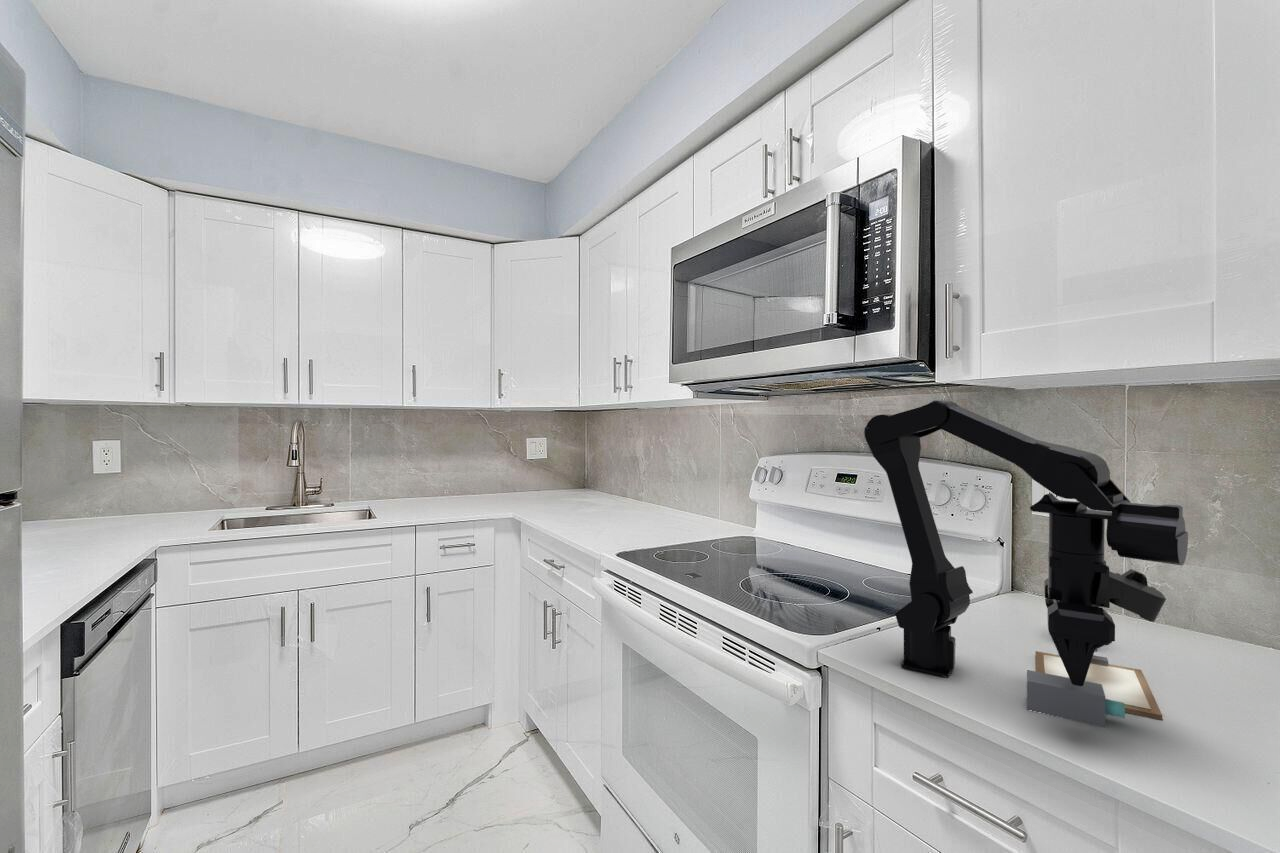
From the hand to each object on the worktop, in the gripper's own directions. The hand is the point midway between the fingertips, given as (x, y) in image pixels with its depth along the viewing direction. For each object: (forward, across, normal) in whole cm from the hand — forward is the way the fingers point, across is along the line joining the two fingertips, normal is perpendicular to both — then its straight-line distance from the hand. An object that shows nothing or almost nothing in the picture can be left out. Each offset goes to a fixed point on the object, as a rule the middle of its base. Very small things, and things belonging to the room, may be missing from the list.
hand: (1074, 671), depth 75 cm
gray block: (+6, 0, 0) cm, 6 cm away
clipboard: (+6, +12, -3) cm, 13 cm away
